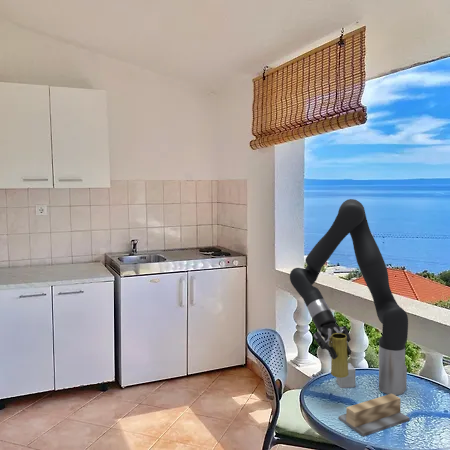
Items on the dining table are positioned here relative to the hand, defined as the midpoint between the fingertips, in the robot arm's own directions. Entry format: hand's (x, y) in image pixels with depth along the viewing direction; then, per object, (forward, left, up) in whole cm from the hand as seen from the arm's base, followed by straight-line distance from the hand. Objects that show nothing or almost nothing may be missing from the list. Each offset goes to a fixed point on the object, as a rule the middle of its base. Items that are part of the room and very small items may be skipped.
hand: (342, 356), depth 164 cm
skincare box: (-13, -14, -19) cm, 27 cm away
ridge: (-4, +11, -19) cm, 22 cm away
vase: (0, -2, -7) cm, 8 cm away
